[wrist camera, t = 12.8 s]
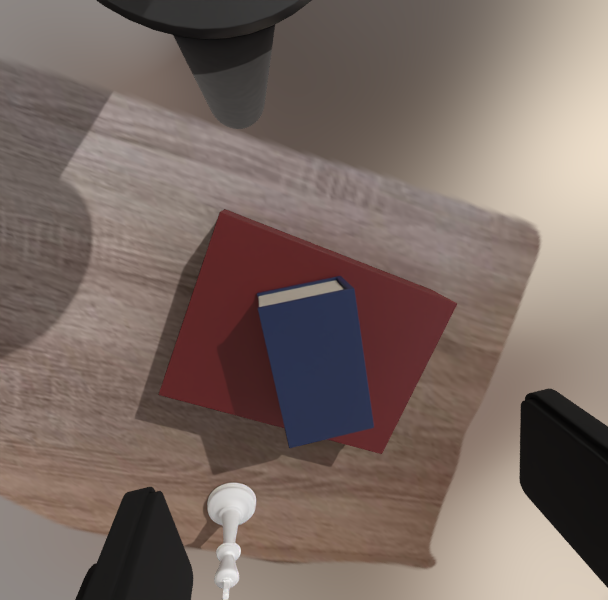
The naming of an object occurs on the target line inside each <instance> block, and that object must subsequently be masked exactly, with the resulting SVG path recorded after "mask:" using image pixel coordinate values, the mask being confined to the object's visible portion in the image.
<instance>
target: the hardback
mask: <svg viewBox="0 0 608 600" xmlns="http://www.w3.org/2000/svg"><path fill="white" fill-rule="evenodd" d="M337 276H342V277H343V278H344V279H345V280H346V281H347V282H348V283H349V284H350V285H351V286H352V287H353V288H354V289H355V296H356V303H357V310H358V317H359V324H360V331H361V338H362V345H363V352H364V359H365V366H366V373H367V380H368V387H369V394H370V401H371V408H372V415H373V422H374V428H371V429H367V430H363V431H359V432H354V433H350V434H346V435H342V436H338V437H334V438H330V439H327V440H331V441H335V442H338V443H342V444H346V445H350V446H354V447H357V448H361V449H365V450H369V451H372V452H376V453H380V454H382V453H383V451H384V449H385V447H386V445H387V443H388V441H389V439H390V437H391V435H392V433H393V431H394V429H395V427H396V425H397V423H398V421H399V419H400V417H401V415H402V413H403V411H404V409H405V407H406V405H407V403H408V401H409V399H410V397H411V395H412V393H413V391H414V389H415V387H416V385H417V383H418V381H419V379H420V377H421V375H422V373H423V371H424V369H425V367H426V365H427V363H428V361H429V359H430V357H431V355H432V353H433V351H434V349H435V347H436V345H437V343H438V341H439V339H440V337H441V335H442V333H443V331H444V329H445V327H446V325H447V323H448V321H449V319H450V317H451V315H452V313H453V311H454V309H455V307H456V305H457V303H455V302H453V301H451V300H450V299H448V298H446V297H444V296H442V295H440V294H438V293H437V292H435V291H433V290H431V289H428V288H425V287H423V286H420V285H418V284H415V283H413V282H410V281H408V280H405V279H402V278H400V277H397V276H395V275H392V274H390V273H387V272H384V271H382V270H379V269H377V268H374V267H372V266H369V265H367V264H364V263H361V262H359V261H356V260H354V259H351V258H349V257H346V256H343V255H341V254H338V253H336V252H333V251H331V250H328V249H325V248H323V247H320V246H318V245H315V244H313V243H310V242H308V241H305V240H302V239H300V238H297V237H295V236H292V235H290V234H287V233H284V232H282V231H279V230H277V229H274V228H272V227H269V226H267V225H264V224H261V223H259V222H256V221H254V220H251V219H249V218H246V217H243V216H241V215H238V214H236V213H233V212H231V211H228V210H225V209H224V210H223V211H221V212H220V213H219V216H218V219H217V222H216V225H215V228H214V231H213V234H212V237H211V240H210V243H209V246H208V249H207V252H206V255H205V258H204V261H203V264H202V267H201V270H200V273H199V276H198V279H197V282H196V285H195V288H194V291H193V294H192V297H191V300H190V303H189V306H188V309H187V312H186V314H185V317H184V320H183V323H182V326H181V329H180V332H179V335H178V338H177V341H176V344H175V347H174V350H173V353H172V356H171V359H170V362H169V365H168V368H167V371H166V374H165V377H164V380H163V383H162V386H161V389H160V392H159V395H161V396H165V397H169V398H172V399H176V400H180V401H184V402H187V403H191V404H195V405H199V406H203V407H206V408H210V409H214V410H218V411H221V412H225V413H229V414H233V415H237V416H240V417H244V418H248V419H252V420H255V421H259V422H263V423H267V424H271V425H274V426H278V427H282V428H285V427H284V423H283V418H282V414H281V409H280V405H279V401H278V396H277V392H276V387H275V383H274V379H273V374H272V370H271V365H270V361H269V357H268V352H267V348H266V343H265V339H264V335H263V330H262V326H261V321H260V317H259V312H258V307H259V301H258V296H257V293H260V292H264V291H269V290H274V289H279V288H284V287H288V286H293V285H298V284H303V283H308V282H313V281H317V280H322V279H327V278H332V277H337Z"/></svg>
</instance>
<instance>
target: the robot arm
mask: <svg viewBox="0 0 608 600" xmlns="http://www.w3.org/2000/svg"><path fill="white" fill-rule="evenodd" d="M520 484H521V486H522V489H523V491H524V492H525V494H526V495H527V496H528V498H529V499H530V500H531V501H532V502H533V503H534V505H535V506H536V507H537V508H538V509H539V510H540V511H541V512H542V514H543V515H544V516H545V517H546V518H547V519H548V520H549V521H550V523H551V524H552V525H553V526H554V527H555V528H556V530H557V531H558V532H559V533H560V534H561V535H562V536H563V537H564V539H565V540H566V541H567V542H568V543H569V544H570V545H571V547H572V548H573V549H574V550H575V551H576V552H577V553H578V555H579V556H580V557H581V558H582V559H583V560H584V561H585V562H586V564H587V565H588V566H589V567H590V568H591V569H592V570H593V572H594V573H595V574H596V575H597V576H598V577H599V578H600V580H601V581H602V582H603V583H604V584H605V585H606V586H607V587H608V427H607V426H606V425H605V424H603V423H602V422H600V421H599V420H597V419H596V418H595V417H593V416H591V415H590V414H589V413H587V412H586V411H584V410H583V409H581V408H580V407H579V406H577V405H576V404H574V403H573V402H571V401H570V400H568V399H567V398H565V397H564V396H563V395H561V394H560V393H558V392H557V391H555V390H553V389H545V390H541V391H537V392H533V393H529V394H527V395H526V397H525V401H523V402H522V403H521V428H520ZM192 586H193V572H192V567H191V564H190V562H189V559H188V556H187V554H186V551H185V549H184V546H183V544H182V541H181V539H180V536H179V534H178V531H177V528H176V526H175V523H174V521H173V518H172V516H171V513H170V511H169V508H168V506H167V503H166V500H165V498H164V495H163V493H162V492H161V491H157V492H155V490H154V488H153V487H147V488H143V489H139V490H135V491H131V492H127V493H126V494H125V495H124V497H123V499H122V501H121V504H120V506H119V509H118V511H117V514H116V516H115V519H114V521H113V524H112V526H111V529H110V531H109V534H108V536H107V539H106V541H105V544H104V547H103V549H102V551H101V555H100V556H99V559H98V561H97V563H96V564H94V565H93V566H92V567H91V568H90V569H89V570H88V572H87V574H86V576H85V578H84V580H83V583H82V585H81V587H80V590H79V592H78V595H77V597H76V599H75V600H191V594H192Z"/></svg>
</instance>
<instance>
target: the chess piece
mask: <svg viewBox="0 0 608 600" xmlns="http://www.w3.org/2000/svg"><path fill="white" fill-rule="evenodd" d="M207 506H208V508H207V509H208V514H209V516H210V518H211V519H212V520H213V521H214V522H216V523H217V524H219V525H222V526H223V542H224V543H223V544H221V545H220V546H219V547H218V549H217V551H216V555H217V558H218V560H219V561H221V563H220V565H219V568H218V570H217V572H216V575H215V578H214V580H215V584H216V585H217V586H218V587H220V588H223V599H222V600H228V599H229V588H231V587H233V586H234V585H236V584H237V583H238V581H239V572H238V569H237V567H236V563H235V561H236V560H237V559H238V558H239V556H240V553H241V548H240V546H239V545H238V544H236V543H235V540H236V534H237V529H238V525H240V524H243V523H244V522H246V521H247V520H249V519H250V518H251V516H252V515H253V513H254V511H255V506H256V496H255V494H254V492H253V491H252V490H251V489H250V488H249V487H248V486H246V485H244V484H241V483H226V484H223V485H221V486H219V487H217V488H216V489H215V490H213V492H212V493H211V494H210V496H209V498H208V502H207Z"/></svg>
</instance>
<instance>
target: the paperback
mask: <svg viewBox="0 0 608 600" xmlns="http://www.w3.org/2000/svg"><path fill="white" fill-rule="evenodd" d="M257 296H258V301H259V307H258V312H259V317H260V321H261V326H262V330H263V335H264V339H265V343H266V348H267V352H268V357H269V361H270V365H271V370H272V374H273V379H274V383H275V387H276V392H277V396H278V401H279V405H280V409H281V414H282V418H283V423H284V427H285V431H286V436H287V440H288V445H289V448H292V447H297V446H301V445H305V444H309V443H313V442H317V441H321V440H325V439H330V438H334V437H338V436H342V435H346V434H350V433H354V432H359V431H363V430H367V429H371V428H374V422H373V415H372V408H371V401H370V394H369V387H368V380H367V373H366V366H365V359H364V352H363V345H362V338H361V331H360V324H359V317H358V310H357V303H356V296H355V289H354V288H353V287H352V286H351V285H350V284H349V283H348V282H347V281H346V280H345V279H344V278H343V277H342V276H337V277H332V278H327V279H322V280H317V281H313V282H308V283H303V284H298V285H293V286H288V287H284V288H279V289H274V290H269V291H264V292H260V293H257Z"/></svg>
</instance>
